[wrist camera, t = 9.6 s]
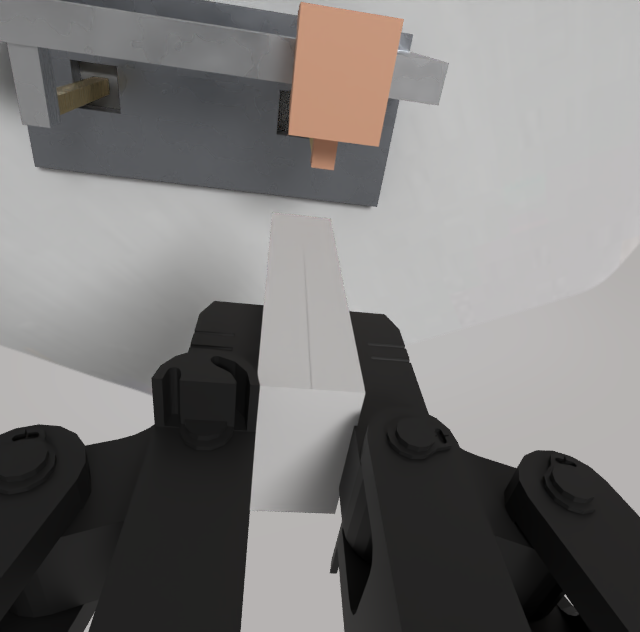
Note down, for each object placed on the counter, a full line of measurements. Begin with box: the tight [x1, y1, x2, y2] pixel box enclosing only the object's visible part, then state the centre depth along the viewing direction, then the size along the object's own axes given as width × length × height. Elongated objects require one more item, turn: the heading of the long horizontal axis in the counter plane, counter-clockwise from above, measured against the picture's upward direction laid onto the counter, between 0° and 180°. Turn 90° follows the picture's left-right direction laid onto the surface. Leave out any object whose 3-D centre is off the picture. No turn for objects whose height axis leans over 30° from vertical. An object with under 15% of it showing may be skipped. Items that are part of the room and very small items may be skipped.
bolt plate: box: [27, 0, 413, 207], centre depth 34 cm, size 26×12×2 cm, turn 82°
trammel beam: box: [0, 0, 449, 128], centre depth 28 cm, size 26×6×11 cm, turn 82°
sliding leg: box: [288, 2, 404, 170], centre depth 26 cm, size 4×7×15 cm, turn 172°
